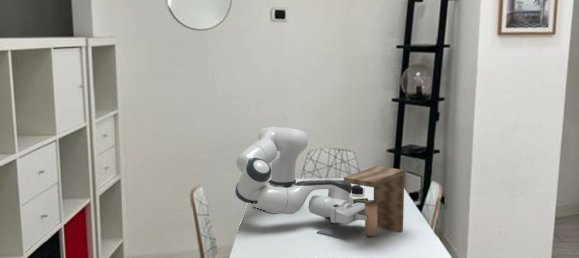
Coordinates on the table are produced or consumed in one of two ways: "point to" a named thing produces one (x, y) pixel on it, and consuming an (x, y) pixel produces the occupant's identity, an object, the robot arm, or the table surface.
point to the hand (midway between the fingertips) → (371, 216)
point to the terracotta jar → (371, 218)
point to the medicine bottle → (357, 195)
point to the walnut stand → (384, 194)
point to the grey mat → (339, 230)
